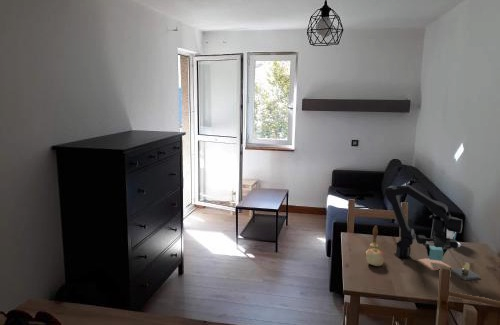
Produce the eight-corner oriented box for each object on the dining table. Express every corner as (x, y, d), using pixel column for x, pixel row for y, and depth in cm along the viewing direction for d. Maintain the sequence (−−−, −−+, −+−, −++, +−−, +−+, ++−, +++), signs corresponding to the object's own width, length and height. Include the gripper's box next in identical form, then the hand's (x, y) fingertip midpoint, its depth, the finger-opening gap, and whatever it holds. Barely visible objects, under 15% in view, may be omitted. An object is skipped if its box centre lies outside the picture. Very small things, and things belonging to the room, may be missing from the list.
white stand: (458, 249, 219) (462, 224, 216) (437, 244, 225) (440, 219, 223) (462, 243, 228) (465, 219, 225) (441, 238, 235) (444, 214, 232)
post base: (464, 280, 182) (466, 268, 181) (450, 271, 191) (451, 260, 190) (479, 278, 185) (481, 266, 184) (465, 269, 193) (466, 258, 192)
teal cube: (429, 259, 195) (430, 249, 194) (427, 254, 201) (428, 245, 200) (442, 261, 194) (443, 251, 193) (439, 256, 200) (440, 246, 199)
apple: (368, 259, 202) (370, 245, 200) (385, 264, 197) (387, 249, 195) (363, 265, 195) (364, 250, 193) (380, 270, 190) (382, 255, 188)
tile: (432, 270, 192) (432, 268, 191) (417, 260, 202) (417, 259, 202) (450, 268, 194) (450, 266, 194) (435, 259, 205) (435, 257, 205)
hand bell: (362, 252, 211) (364, 224, 208) (374, 250, 214) (376, 222, 211) (372, 258, 204) (375, 229, 201) (384, 256, 207) (387, 228, 204)
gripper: (421, 231, 189) (417, 260, 192) (462, 236, 185) (458, 266, 188) (417, 224, 200) (414, 252, 203) (457, 228, 195) (453, 257, 198)
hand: (434, 256), depth 197 cm, fingers closed on teal cube, 6 cm apart
